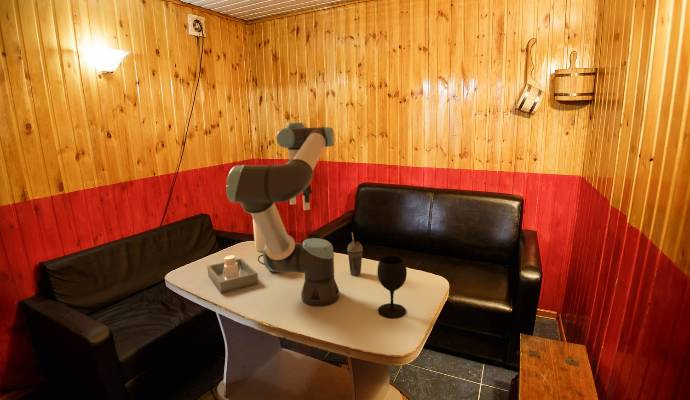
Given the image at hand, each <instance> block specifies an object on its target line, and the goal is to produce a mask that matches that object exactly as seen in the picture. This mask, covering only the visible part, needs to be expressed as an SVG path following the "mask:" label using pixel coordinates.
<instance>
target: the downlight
mask: <svg viewBox="0 0 690 400" xmlns="http://www.w3.org/2000/svg"><path fill="white" fill-rule="evenodd" d="M223 260H224V262H225V265H224V269H225V276H226V277H225V280H228V279H232V278H236V277H240V276H241V275H240V272H239V270H238V263H237V262H236V256H235V255H232V254H231V255H226V256H225V257H224V259H223ZM240 270H241V267H240ZM223 275H224V271H223ZM223 278H224V276H223Z"/></svg>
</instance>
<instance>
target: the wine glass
mask: <svg viewBox="0 0 690 400" xmlns="http://www.w3.org/2000/svg"><path fill="white" fill-rule="evenodd" d="M376 270H377V279H378V281H379V283H380V284H381V286H383V288H384V289H385V290H387V291H389V294H390V296H389V297H390V302H389V303H384V304H382V305H379V306H378V309H377V312H378V315H380V316H381V317H383V318H387V319H400V318H402V317H404V316H405V315H406V314H407V309H406V308H405V307H404V305H401V304H398V303H394V295H395V294H394V293H395V292H396V291H398V290H400V288H402V286H403V285H404V284H405V283H406V279H407V275H408V273H407V271H408V270H407V265H406V261H405V259H404V258H403V257H401V256H400V255H399V256H398V255H385V256H382V257H380V259H379V261H378V264H377V269H376Z"/></svg>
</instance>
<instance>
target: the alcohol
mask: <svg viewBox="0 0 690 400" xmlns="http://www.w3.org/2000/svg"><path fill="white" fill-rule="evenodd" d="M252 226H253V238H254V249H255V250H256V251H257V252H260V253H263V251H264V247H265V246H266V243H265V241H264V239H263V237H262V235H261V233H260V231H259V229H258V227H257V225H256V223H255V221H254V219H253V218H252Z"/></svg>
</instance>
